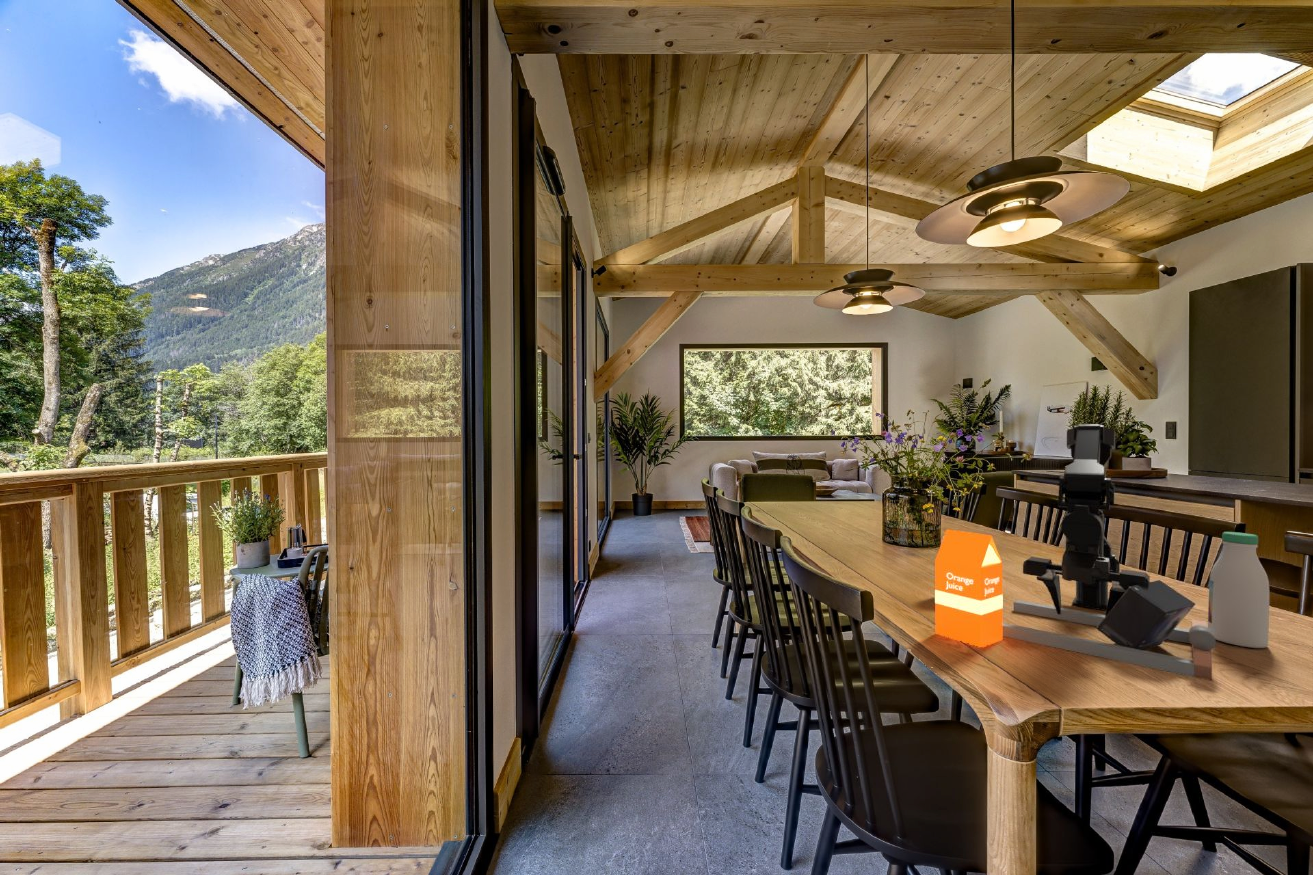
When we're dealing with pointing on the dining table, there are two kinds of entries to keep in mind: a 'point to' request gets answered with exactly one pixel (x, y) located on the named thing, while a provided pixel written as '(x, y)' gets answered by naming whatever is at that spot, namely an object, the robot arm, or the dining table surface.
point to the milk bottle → (1239, 594)
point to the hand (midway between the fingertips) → (1082, 618)
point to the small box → (1145, 616)
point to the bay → (1196, 636)
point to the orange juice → (968, 589)
